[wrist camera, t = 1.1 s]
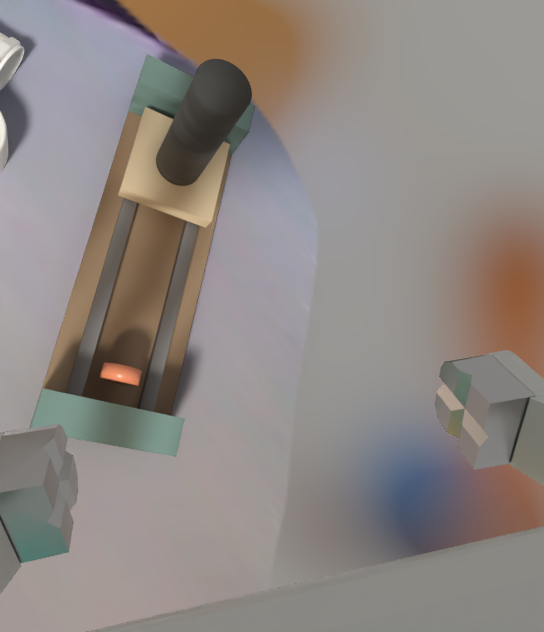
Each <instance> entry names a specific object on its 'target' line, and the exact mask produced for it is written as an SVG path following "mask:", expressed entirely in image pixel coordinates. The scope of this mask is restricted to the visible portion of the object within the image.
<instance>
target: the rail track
mask: <svg viewBox="0 0 544 632" xmlns="http://www.w3.org/2000/svg"><path fill="white" fill-rule="evenodd" d="M193 78H194V77H193V76H191V75H189V74H187V73H185V72H183V71H181V70H179V69H177V68H175V67H172V66H170V65H168V64H166V63H164V62H162V61H160V60H158V59H156V58H154V57H152V56H150V55H148V54H147V56H146V59H145V62H144V65H143V68H142V71H141V74H140V77H139V80H138V83H137V87H136V90H135V93H134V96H133V99H132V102H131V105H130V109H129V112H128V115H127V118H126V121H125V125H124V128H123V131H122V134H121V137H120V141H119V144H118V147H117V150H116V153H115V157H114V160H113V163H112V166H111V169H110V173H109V176H108V179H107V182H106V185H105V189H104V192H103V195H102V198H101V201H100V205H99V208H98V211H97V214H96V217H95V221H94V224H93V227H92V230H91V233H90V237H89V240H88V243H87V246H86V249H85V253H84V256H83V259H82V262H81V265H80V269H79V272H78V275H77V278H76V281H75V285H74V288H73V291H72V294H71V298H70V301H69V304H68V307H67V310H66V314H65V317H64V320H63V323H62V326H61V330H60V333H59V336H58V339H57V342H56V346H55V349H54V352H53V355H52V358H51V362H50V365H49V368H48V371H47V374H46V378H45V381H44V384H43V387H42V390H41V394H40V397H39V400H38V403H37V406H36V410H35V413H34V416H33V419H32V422H31V426H30V428H36V427H43V426H50V425H57V424H60V425H61V426H63V428H64V431H65V434H66V437H70V438H75V439H81V440H86V441H92V442H97V443H103V444H108V445H114V446H119V447H125V448H130V449H136V450H141V451H147V452H152V453H158V454H163V455H169V456H174V457H176V455H177V450H178V446H179V441H180V437H181V432H182V428H183V423H184V418H179V417H174V416H170V415H171V411H172V407H173V402H174V398H175V394H176V390H177V385H178V381H179V377H180V372H181V368H182V364H183V360H184V355H185V351H186V347H187V342H188V338H189V334H190V330H191V325H192V321H193V317H194V312H195V308H196V304H197V300H198V295H199V291H200V287H201V282H202V278H203V274H204V270H205V265H206V261H207V257H208V252H209V248H210V244H211V240H212V235H213V231H214V227H215V222H216V218H217V214H218V210H219V205H220V201H221V197H222V192H223V188H224V184H225V180H226V175H227V171H228V167H229V162H230V158H231V155H232V154H233V152H234V151H235V150H236V148H237V147H238V146H239V144H240V143H241V142H242V140H243V139H244V138H245V136H246V135H247V134H248V133H249V130H250V125H251V121H252V116H253V112H254V108H255V106H253V105H251V104H249V106H248V107H247V109H246V110H245V112H244V113H243V114H242V116H241V117H240V119H239V120H238V122H237V123H236V125H235V126H234V127H233V129H232V130H231V132H230V133H229V135H228V136H227V137H226V139H225V140H224V142H226V143H228V144H230V147H229V151H228V155H227V159H226V163H225V168H224V172H223V176H222V180H221V185H220V189H219V193H218V197H217V202H216V206H215V210H214V214H213V219H212V221H211V223H210V224H209V225H208V226H207V227H206V228H205V227H202V226H200V225H197V224H194V223H191V222H189V221H186V220H183V219H181V218H178V217H175V216H172V215H170V214H167V213H164V212H162V211H159V210H156V209H153V208H151V207H148V206H145V205H143V204H140V203H137V202H134V201H132V200H129V199H126V198H123V197H121V196H118V193H119V190H120V186H121V183H122V180H123V177H124V173H125V170H126V167H127V163H128V160H129V157H130V153H131V150H132V147H133V143H134V140H135V137H136V133H137V130H138V127H139V124H140V120H141V117H142V114H143V112H144V109H145V107H147V108H149V109H151V110H154V111H156V112H158V113H160V114H163V115H165V116H167V117H169V118H172V119H174V117H175V115H176V113H177V111H178V109H179V107H180V105H181V103H182V101H183V99H184V97H185V95H186V92H187V90H188V88H189V86H190V84H191V82H192V80H193ZM104 363H116V364H121V365H126V366H129V367H133V368H136V369H139V370H141V371H142V374H141V378H140V381H139V385H138V386H127V385H121V384H117V383H113V382H109V381H105V380H103V379H100V374H101V371H102V367H103V364H104Z"/></svg>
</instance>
